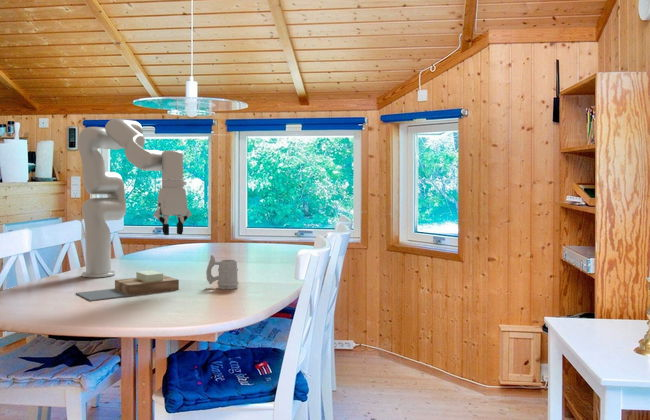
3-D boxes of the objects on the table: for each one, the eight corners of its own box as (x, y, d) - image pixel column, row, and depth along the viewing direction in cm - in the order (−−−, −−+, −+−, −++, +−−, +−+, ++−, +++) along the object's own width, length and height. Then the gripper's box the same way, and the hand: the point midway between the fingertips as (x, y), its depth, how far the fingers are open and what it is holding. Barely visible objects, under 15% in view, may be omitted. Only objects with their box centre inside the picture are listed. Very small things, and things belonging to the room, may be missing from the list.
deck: (115, 289, 199) (114, 280, 199) (163, 284, 211) (162, 274, 211) (129, 295, 189) (129, 285, 189) (178, 289, 201) (178, 279, 201)
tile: (136, 278, 202) (136, 271, 202) (152, 277, 206) (152, 270, 206) (146, 282, 195) (146, 275, 195) (163, 280, 199) (163, 273, 199)
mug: (237, 289, 202) (237, 256, 201) (204, 289, 201) (203, 256, 201) (240, 285, 209) (240, 253, 209) (208, 285, 209) (208, 253, 208)
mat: (75, 294, 191) (75, 292, 191) (116, 289, 201) (116, 288, 200) (90, 301, 180) (90, 300, 180) (133, 295, 189) (133, 294, 189)
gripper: (189, 184, 213) (189, 232, 214) (146, 184, 202) (146, 235, 203) (198, 184, 207) (198, 234, 208) (154, 184, 196) (155, 236, 197)
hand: (172, 234), depth 206 cm, fingers open, 4 cm apart
